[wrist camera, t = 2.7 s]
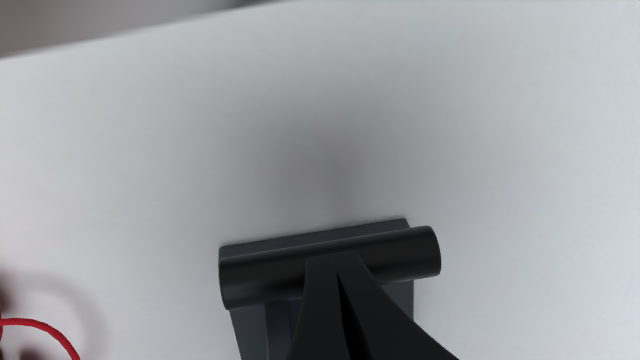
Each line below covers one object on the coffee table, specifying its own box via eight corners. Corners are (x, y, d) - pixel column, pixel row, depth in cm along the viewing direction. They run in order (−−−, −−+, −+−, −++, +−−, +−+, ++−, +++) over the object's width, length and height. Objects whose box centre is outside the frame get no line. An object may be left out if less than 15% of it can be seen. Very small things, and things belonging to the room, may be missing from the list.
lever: (218, 236, 15) (217, 301, 13) (422, 204, 15) (450, 263, 13) (266, 417, 21) (271, 479, 19) (411, 391, 21) (429, 449, 19)
